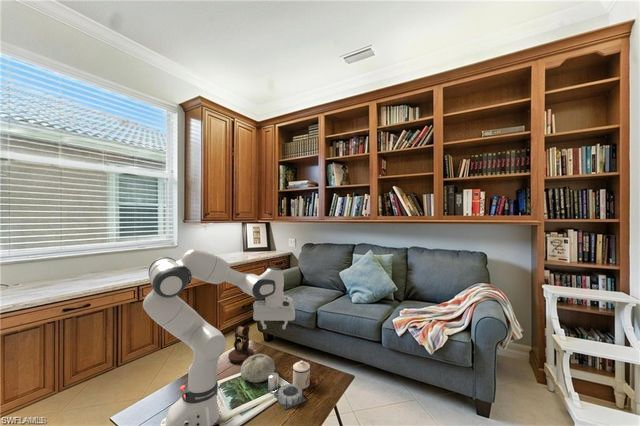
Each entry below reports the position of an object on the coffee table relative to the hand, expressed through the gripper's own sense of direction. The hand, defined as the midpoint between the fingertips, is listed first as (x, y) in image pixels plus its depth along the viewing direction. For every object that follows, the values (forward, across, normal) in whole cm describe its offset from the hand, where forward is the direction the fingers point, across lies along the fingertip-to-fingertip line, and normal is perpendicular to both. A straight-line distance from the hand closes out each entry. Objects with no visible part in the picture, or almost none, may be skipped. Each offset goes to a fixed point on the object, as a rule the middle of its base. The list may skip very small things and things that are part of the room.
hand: (274, 328), depth 130 cm
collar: (+31, +9, -5) cm, 32 cm away
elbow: (+31, 0, +1) cm, 31 cm away
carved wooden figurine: (+31, -24, +30) cm, 49 cm away
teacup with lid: (+31, +13, +7) cm, 35 cm away
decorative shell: (+31, -10, +12) cm, 34 cm away
